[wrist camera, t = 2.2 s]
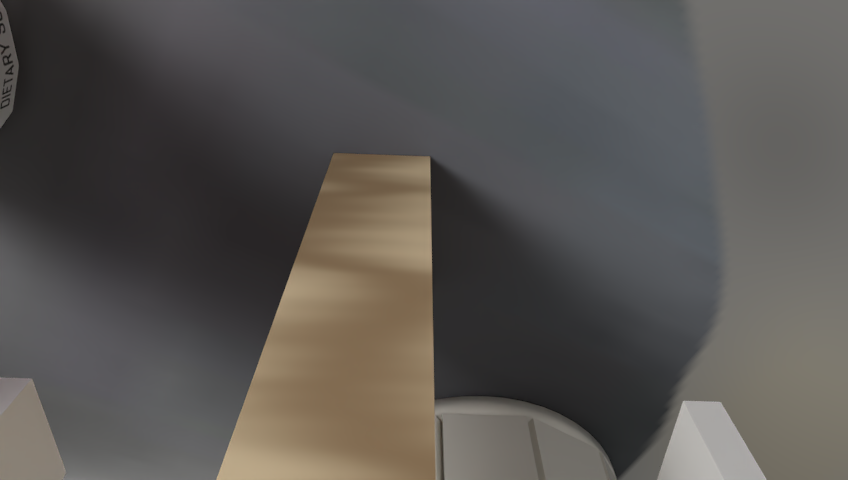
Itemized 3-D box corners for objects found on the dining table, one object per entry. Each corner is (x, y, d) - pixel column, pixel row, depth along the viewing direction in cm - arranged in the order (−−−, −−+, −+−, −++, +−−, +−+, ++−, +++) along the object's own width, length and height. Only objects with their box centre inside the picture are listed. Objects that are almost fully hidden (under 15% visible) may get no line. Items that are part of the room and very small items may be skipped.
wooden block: (338, 286, 21) (220, 817, 9) (333, 152, 19) (160, 637, 6) (424, 288, 21) (422, 820, 9) (430, 156, 19) (437, 643, 6)
